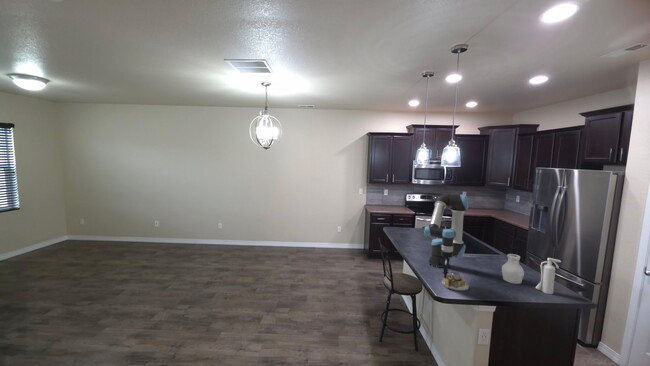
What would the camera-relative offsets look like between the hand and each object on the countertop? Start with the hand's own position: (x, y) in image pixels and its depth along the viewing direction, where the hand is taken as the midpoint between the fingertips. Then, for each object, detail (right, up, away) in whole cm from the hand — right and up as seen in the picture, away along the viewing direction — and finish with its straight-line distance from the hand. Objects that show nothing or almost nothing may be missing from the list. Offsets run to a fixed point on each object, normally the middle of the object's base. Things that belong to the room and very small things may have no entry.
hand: (444, 281), depth 188 cm
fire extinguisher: (+71, -6, -5) cm, 71 cm away
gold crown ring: (+6, -1, 0) cm, 6 cm away
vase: (+59, -4, +13) cm, 61 cm away
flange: (+8, -3, +1) cm, 9 cm away
